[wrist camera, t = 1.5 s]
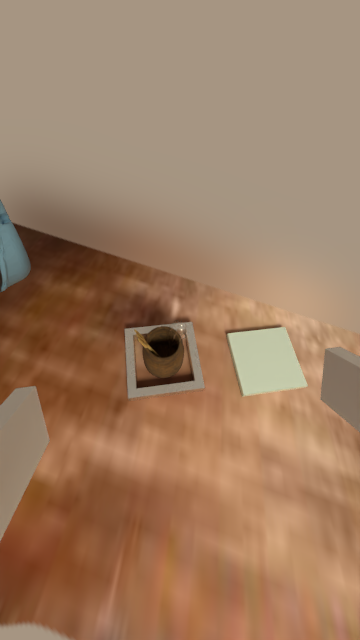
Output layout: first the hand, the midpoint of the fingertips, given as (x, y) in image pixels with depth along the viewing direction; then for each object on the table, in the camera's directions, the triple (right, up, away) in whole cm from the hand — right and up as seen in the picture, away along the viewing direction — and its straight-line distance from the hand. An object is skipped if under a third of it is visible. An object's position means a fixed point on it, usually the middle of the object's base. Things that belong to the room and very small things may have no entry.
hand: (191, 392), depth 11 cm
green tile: (+13, -3, +29) cm, 32 cm away
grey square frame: (-3, -3, +28) cm, 28 cm away
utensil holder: (-3, -3, +28) cm, 29 cm away
